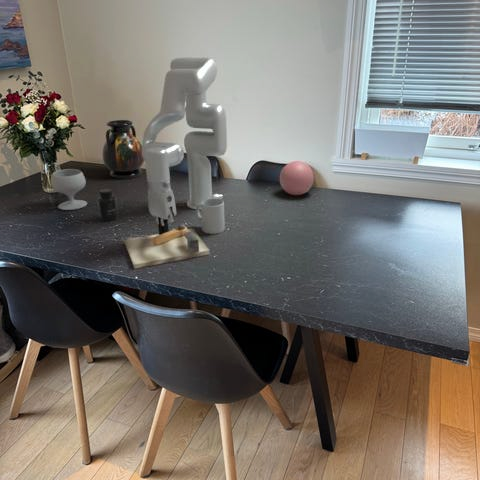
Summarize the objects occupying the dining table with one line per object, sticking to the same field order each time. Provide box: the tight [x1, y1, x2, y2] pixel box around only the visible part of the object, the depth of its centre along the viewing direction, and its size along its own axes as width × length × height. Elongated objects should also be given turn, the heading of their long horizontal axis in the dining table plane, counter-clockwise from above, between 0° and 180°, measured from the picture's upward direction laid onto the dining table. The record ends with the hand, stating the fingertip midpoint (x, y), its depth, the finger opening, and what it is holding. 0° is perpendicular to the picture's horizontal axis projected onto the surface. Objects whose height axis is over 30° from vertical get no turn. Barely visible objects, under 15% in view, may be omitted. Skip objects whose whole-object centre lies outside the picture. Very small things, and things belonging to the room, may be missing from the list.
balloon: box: [279, 160, 315, 196], centre depth 196 cm, size 15×20×15 cm
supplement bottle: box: [97, 188, 119, 222], centre depth 170 cm, size 7×7×12 cm
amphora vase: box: [102, 119, 145, 180], centre depth 223 cm, size 22×22×28 cm
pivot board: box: [123, 223, 211, 269], centre depth 146 cm, size 25×20×6 cm
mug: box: [195, 199, 226, 235], centre depth 160 cm, size 12×8×11 cm
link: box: [152, 226, 188, 245], centre depth 151 cm, size 14×4×2 cm, turn 137°
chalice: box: [50, 168, 88, 211], centre depth 184 cm, size 14×14×15 cm
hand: (164, 234), depth 152 cm, fingers closed
